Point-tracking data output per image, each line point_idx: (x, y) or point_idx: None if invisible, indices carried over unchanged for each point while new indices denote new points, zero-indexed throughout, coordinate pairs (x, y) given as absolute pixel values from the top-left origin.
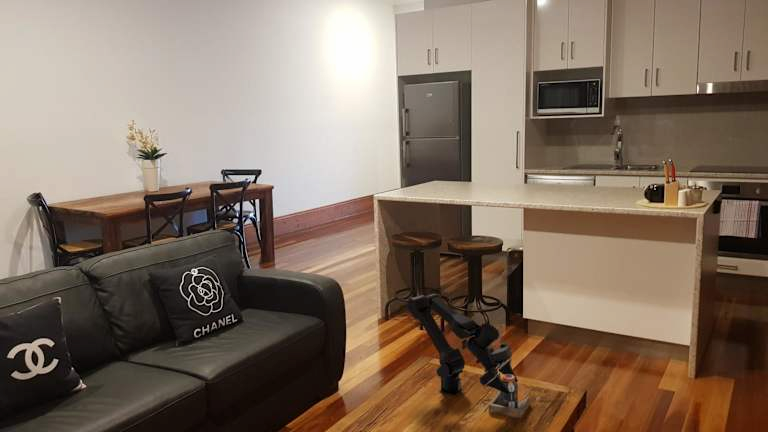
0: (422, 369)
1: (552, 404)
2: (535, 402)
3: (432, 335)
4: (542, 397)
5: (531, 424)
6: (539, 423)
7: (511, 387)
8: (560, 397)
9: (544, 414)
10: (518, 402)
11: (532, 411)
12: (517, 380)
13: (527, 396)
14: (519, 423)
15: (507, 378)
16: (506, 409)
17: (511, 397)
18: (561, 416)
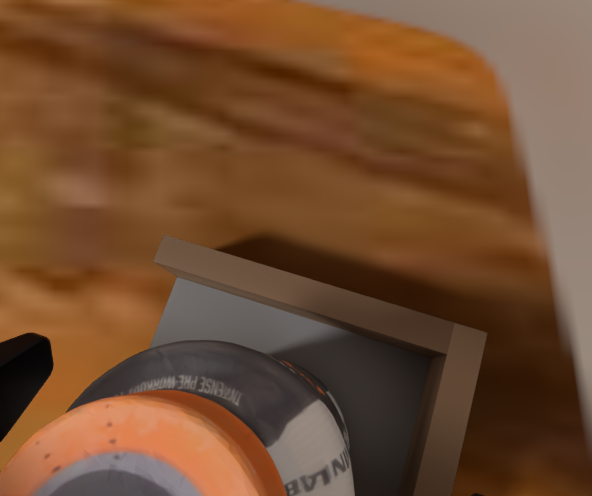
0: None
1: (180, 91)
2: (150, 209)
3: None
4: (69, 156)
5: (530, 249)
6: (498, 187)
7: (344, 460)
8: (75, 40)
9: (343, 148)
10: None
11: (304, 236)
12: (32, 338)
13: (161, 253)
14: (538, 351)
15: None
16: (447, 490)
17: (346, 438)
18: (358, 40)
